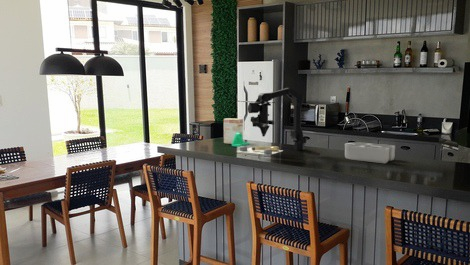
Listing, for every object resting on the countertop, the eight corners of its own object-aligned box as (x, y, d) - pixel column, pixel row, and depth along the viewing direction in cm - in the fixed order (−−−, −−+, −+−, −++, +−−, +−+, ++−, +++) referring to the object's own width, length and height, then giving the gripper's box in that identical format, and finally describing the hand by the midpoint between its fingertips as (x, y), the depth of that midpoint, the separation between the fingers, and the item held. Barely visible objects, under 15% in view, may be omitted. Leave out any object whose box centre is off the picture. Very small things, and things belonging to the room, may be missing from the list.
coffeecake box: (243, 143, 315) (243, 118, 312) (237, 145, 310) (237, 119, 307) (229, 142, 325) (229, 117, 323) (223, 143, 320) (223, 118, 317)
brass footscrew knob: (277, 149, 276) (277, 145, 275) (279, 151, 270) (279, 146, 269) (251, 150, 273) (250, 146, 273) (252, 151, 267) (252, 147, 267)
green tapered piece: (239, 148, 295) (239, 134, 294) (231, 147, 300) (231, 133, 299) (250, 146, 304) (250, 132, 302) (242, 145, 309) (242, 131, 307)
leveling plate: (283, 152, 273) (283, 146, 272) (269, 157, 257) (269, 150, 257) (250, 149, 287) (250, 143, 287) (235, 153, 272) (235, 147, 271)
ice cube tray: (385, 164, 234) (385, 149, 233) (339, 158, 252) (340, 144, 251) (394, 159, 247) (395, 145, 246) (351, 154, 264) (351, 141, 263)
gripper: (260, 111, 276) (260, 134, 277) (245, 113, 260) (245, 137, 262) (274, 111, 269) (274, 135, 271) (260, 113, 254) (260, 138, 256)
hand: (263, 136), depth 265 cm, fingers closed
